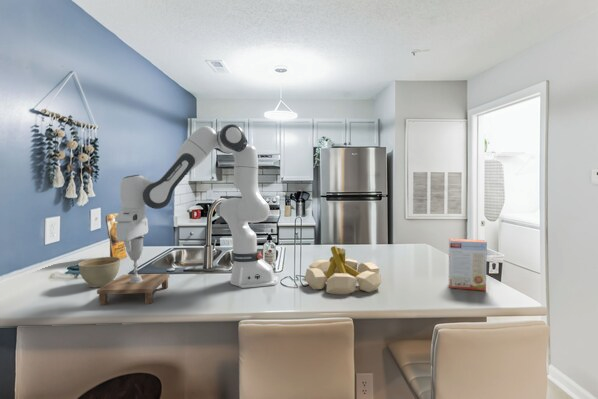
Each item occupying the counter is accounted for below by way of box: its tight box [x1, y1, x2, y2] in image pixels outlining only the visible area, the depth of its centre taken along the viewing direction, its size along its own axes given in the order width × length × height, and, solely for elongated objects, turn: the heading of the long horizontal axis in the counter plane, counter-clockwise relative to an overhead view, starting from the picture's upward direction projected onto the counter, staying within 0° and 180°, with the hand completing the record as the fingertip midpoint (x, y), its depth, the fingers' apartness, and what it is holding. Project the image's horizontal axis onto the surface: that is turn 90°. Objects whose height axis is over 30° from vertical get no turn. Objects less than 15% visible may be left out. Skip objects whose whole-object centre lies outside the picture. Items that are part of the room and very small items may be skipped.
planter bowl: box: [78, 256, 121, 288], centre depth 146 cm, size 16×16×11 cm
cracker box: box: [448, 238, 488, 292], centre depth 138 cm, size 14×6×21 cm, turn 71°
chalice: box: [126, 236, 145, 283], centre depth 130 cm, size 7×7×18 cm
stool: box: [96, 273, 170, 306], centre depth 131 cm, size 20×20×6 cm
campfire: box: [304, 245, 382, 295], centre depth 146 cm, size 35×34×17 cm
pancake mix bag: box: [105, 212, 128, 261], centre depth 193 cm, size 7×19×28 cm, turn 3°
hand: (134, 248), depth 130 cm, fingers open, 8 cm apart
